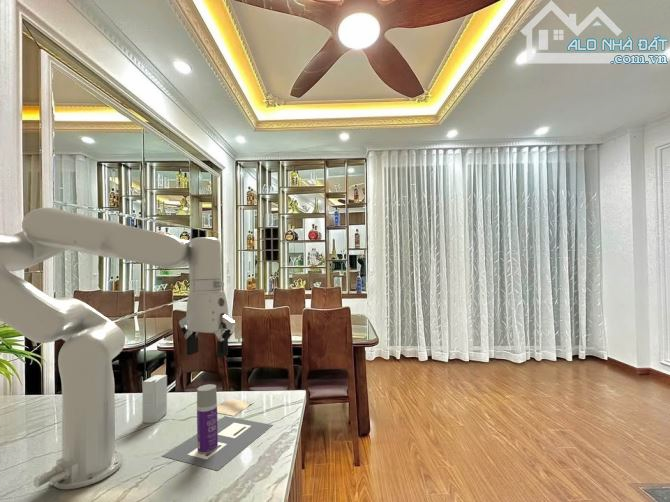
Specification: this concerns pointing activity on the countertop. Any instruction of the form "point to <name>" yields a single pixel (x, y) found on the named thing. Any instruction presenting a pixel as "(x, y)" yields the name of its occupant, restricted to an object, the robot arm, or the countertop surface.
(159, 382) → the skincare box
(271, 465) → the countertop surface
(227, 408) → the oak pad
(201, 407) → the container
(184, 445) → the label mat
